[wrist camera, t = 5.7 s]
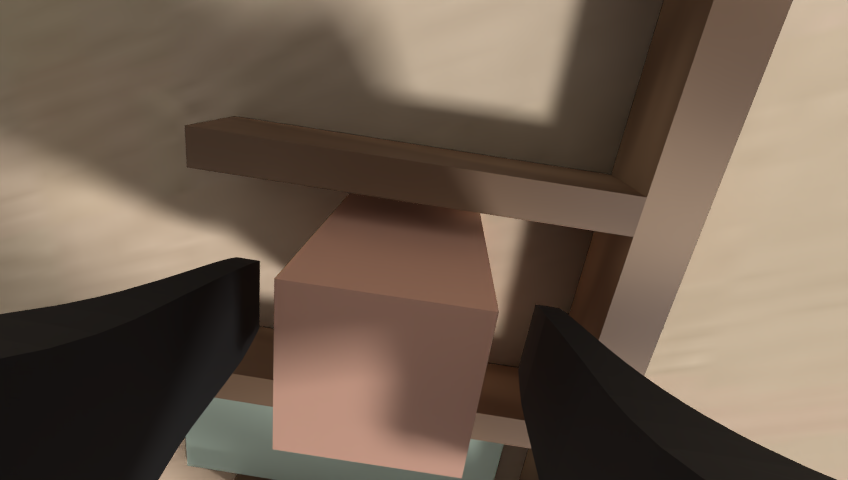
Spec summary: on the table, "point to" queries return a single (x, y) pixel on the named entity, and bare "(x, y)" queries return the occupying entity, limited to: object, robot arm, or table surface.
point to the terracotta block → (384, 336)
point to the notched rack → (521, 199)
